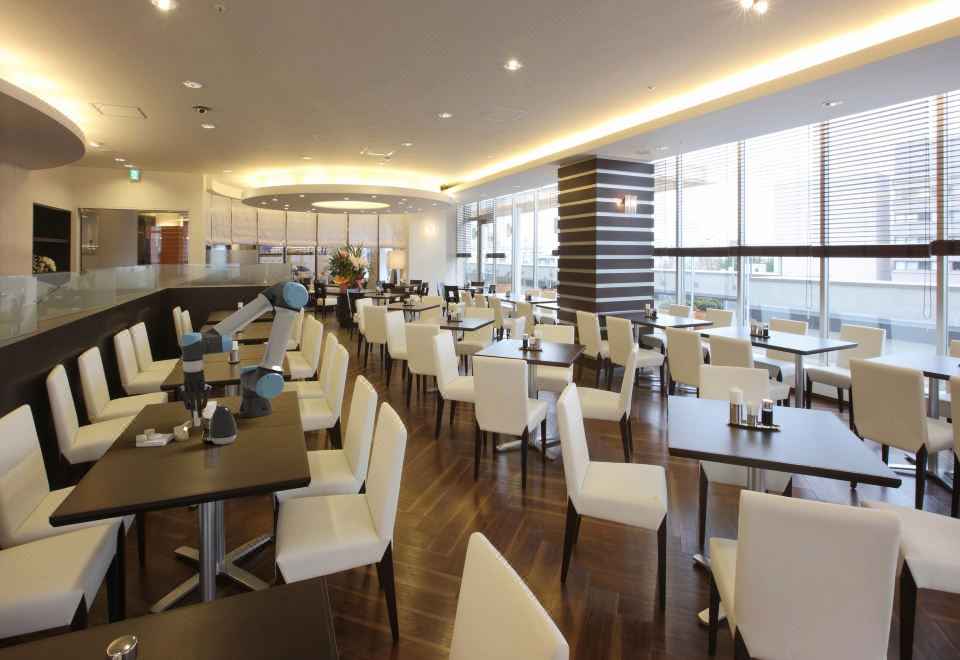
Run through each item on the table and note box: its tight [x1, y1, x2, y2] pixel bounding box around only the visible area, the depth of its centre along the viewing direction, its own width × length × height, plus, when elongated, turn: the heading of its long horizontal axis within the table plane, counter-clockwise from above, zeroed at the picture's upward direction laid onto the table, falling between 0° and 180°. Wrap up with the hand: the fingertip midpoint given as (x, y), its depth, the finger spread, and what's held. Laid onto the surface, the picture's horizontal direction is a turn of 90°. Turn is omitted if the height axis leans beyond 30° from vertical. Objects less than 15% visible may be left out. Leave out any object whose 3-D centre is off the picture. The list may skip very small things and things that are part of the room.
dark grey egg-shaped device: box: [208, 405, 238, 445], centre depth 216 cm, size 10×10×15 cm
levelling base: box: [135, 428, 175, 448], centre depth 218 cm, size 10×14×4 cm
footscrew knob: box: [173, 420, 193, 442], centre depth 223 cm, size 12×5×5 cm, turn 9°
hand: (197, 425), depth 227 cm, fingers closed
